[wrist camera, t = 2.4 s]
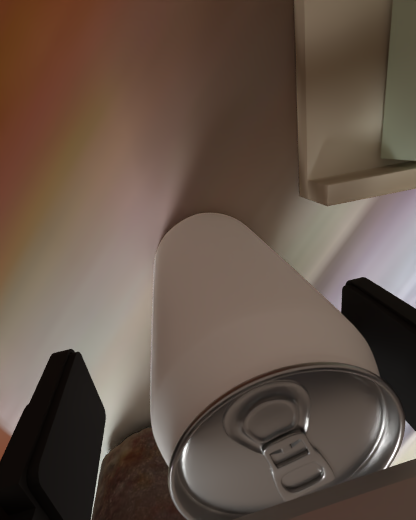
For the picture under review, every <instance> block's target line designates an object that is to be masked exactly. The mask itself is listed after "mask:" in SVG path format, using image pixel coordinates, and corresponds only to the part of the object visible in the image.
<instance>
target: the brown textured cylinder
mask: <svg viewBox="0 0 416 520" xmlns="http://www.w3.org/2000/svg"><path fill="white" fill-rule="evenodd" d="M168 469H169V467H168V465H167V463H166V462H165V460H164V458H163V456H162V454H161V452H160V450H159V448H158V446H157V443H156V441H155V438H154V435H153V431H152V427H150V428H146V429H143V430H141V431H140V432H139V433H134V434H132V435H131V436H129V437H128V438H126V439H125V440H124V441H123V442H122V443H121V444H120V445H118V446H117V447H115V448H114V449H112V450H111V451H110V452H109V453H108V454H107V455H106V456H105V458H104V459H103V461H102V464H101V470H100V474H99V480H98V487H97V492H96V497H95V503H94V508H93V514H92V520H187V519H186V518H184V517H183V516H182V515H181V513H180V512H179V511H178V510H177V508H176V507H175V505H174V503H173V501H172V499H171V496H170V492H169V488H168Z"/></svg>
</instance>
